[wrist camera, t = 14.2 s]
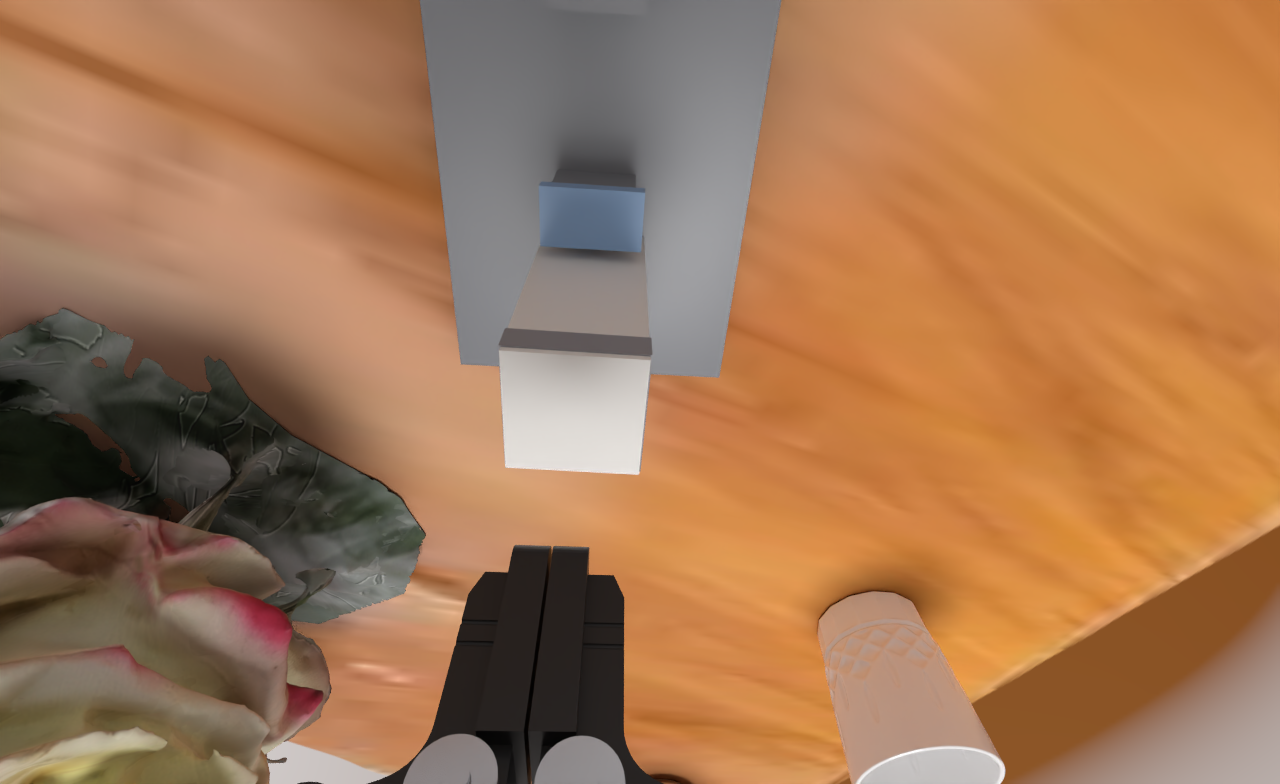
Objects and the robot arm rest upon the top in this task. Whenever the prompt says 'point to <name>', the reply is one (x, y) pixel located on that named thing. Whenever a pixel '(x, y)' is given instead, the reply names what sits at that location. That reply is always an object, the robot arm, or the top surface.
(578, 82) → the mounting plate with blocks
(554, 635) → the robot arm
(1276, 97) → the top surface
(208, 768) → the rose bouquet
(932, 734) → the white cup
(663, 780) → the soda can
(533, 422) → the plug
